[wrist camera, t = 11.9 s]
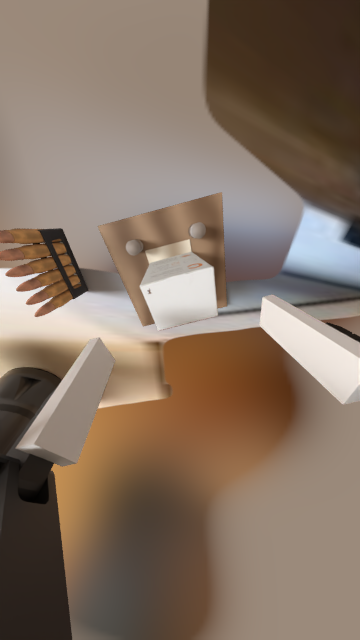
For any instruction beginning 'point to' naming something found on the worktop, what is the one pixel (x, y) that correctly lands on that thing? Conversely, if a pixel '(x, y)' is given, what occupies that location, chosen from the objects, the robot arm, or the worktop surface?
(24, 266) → the ammunition clip
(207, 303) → the small box
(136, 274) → the stub base plate
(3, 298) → the worktop surface
